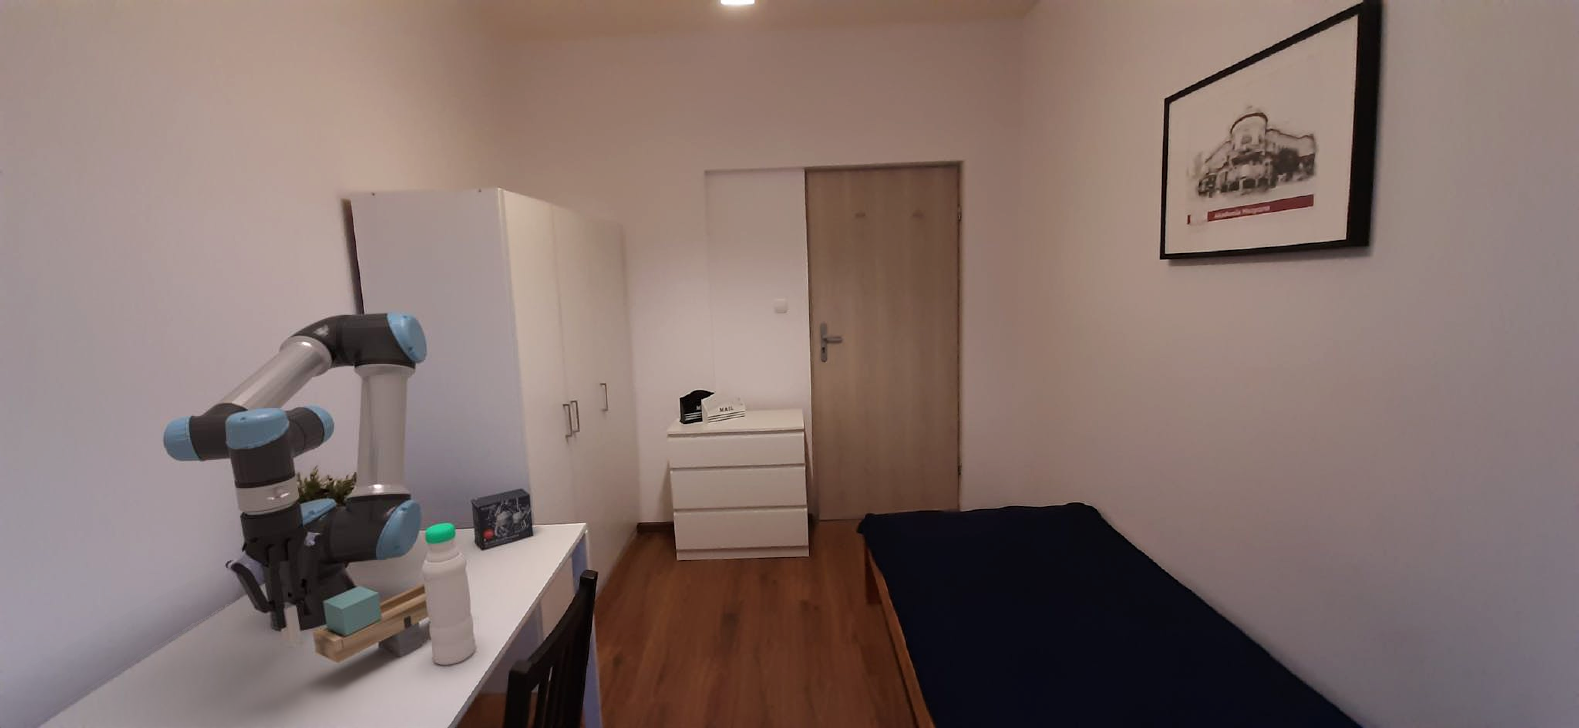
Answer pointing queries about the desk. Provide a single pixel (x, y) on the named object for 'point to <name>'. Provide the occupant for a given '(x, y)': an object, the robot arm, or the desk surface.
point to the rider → (352, 610)
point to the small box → (502, 518)
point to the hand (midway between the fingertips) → (292, 642)
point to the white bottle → (447, 597)
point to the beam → (380, 629)
